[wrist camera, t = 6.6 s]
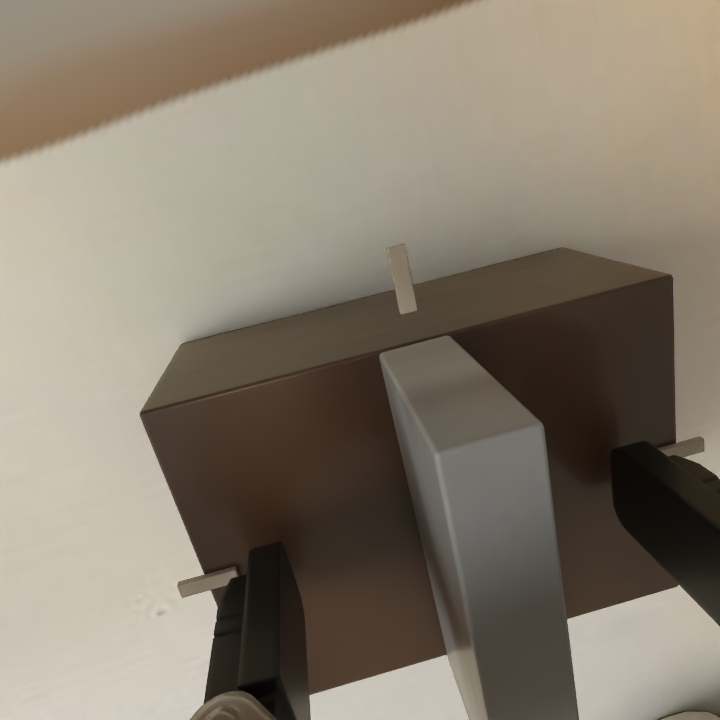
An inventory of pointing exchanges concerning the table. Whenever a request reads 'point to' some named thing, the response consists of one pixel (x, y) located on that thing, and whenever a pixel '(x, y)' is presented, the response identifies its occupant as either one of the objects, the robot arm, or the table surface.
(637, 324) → the base
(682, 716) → the coffee cup
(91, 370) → the table surface
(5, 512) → the table surface
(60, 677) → the table surface
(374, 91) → the table surface
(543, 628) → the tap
